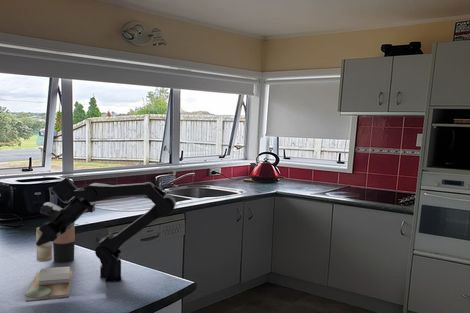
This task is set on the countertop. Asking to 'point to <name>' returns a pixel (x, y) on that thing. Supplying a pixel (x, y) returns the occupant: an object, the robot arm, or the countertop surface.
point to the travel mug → (64, 246)
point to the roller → (43, 249)
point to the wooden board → (47, 289)
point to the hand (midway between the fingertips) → (40, 242)
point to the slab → (54, 276)
